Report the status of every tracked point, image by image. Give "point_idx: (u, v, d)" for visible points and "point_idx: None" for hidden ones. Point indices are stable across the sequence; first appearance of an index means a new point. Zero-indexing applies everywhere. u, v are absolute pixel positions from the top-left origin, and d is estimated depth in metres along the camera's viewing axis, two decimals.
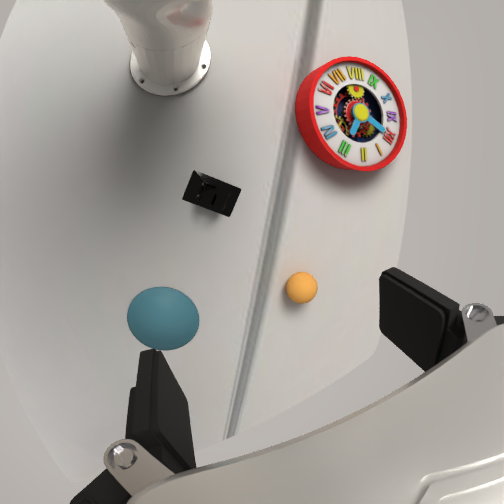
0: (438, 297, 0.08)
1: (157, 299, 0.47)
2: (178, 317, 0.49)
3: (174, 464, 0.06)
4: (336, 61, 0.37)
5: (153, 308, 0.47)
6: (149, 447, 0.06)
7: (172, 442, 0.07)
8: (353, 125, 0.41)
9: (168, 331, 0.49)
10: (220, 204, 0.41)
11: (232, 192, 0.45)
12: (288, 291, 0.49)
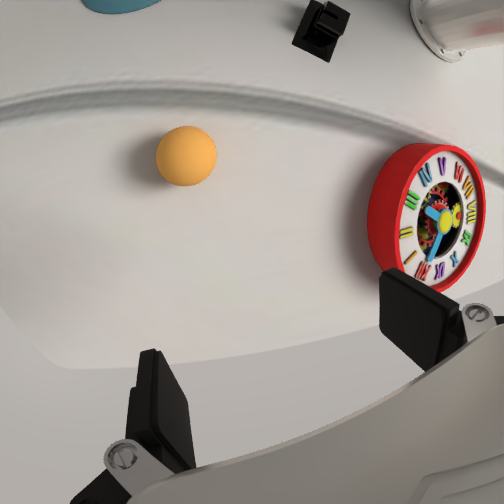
0: (438, 297, 0.08)
1: None
2: None
3: (174, 464, 0.06)
4: (481, 184, 0.30)
5: None
6: (149, 447, 0.06)
7: (172, 442, 0.07)
8: (434, 210, 0.30)
9: None
10: (327, 20, 0.21)
11: (324, 51, 0.26)
12: (181, 127, 0.23)
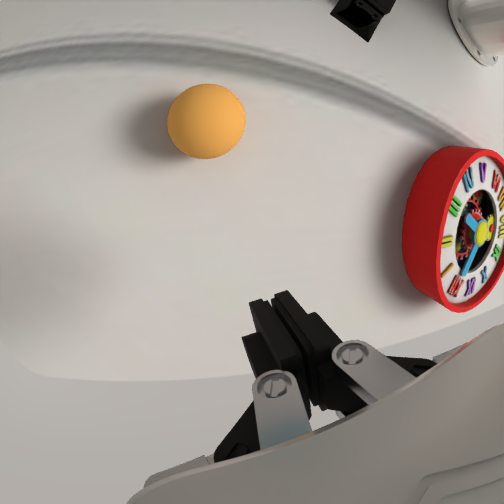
0: (310, 330, 0.09)
1: None
2: None
3: None
4: None
5: None
6: None
7: None
8: (473, 219, 0.25)
9: None
10: None
11: (365, 29, 0.21)
12: None
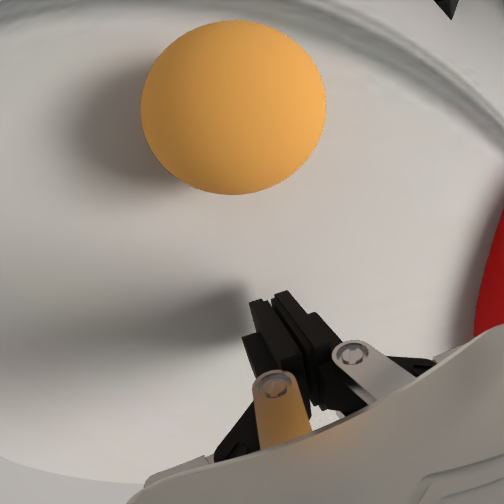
0: (310, 330, 0.09)
1: None
2: None
3: None
4: None
5: None
6: None
7: None
8: None
9: None
10: None
11: (446, 3, 0.10)
12: None
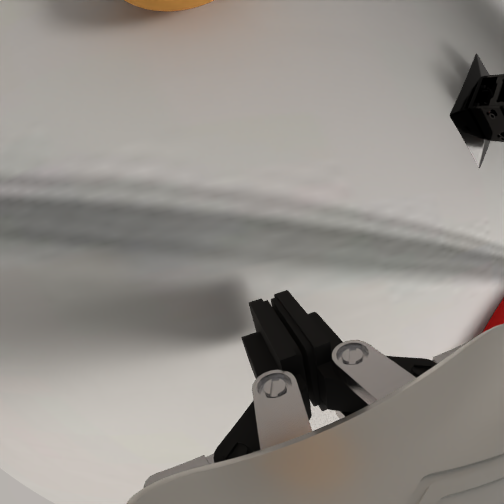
0: (310, 330, 0.09)
1: None
2: None
3: None
4: None
5: None
6: None
7: None
8: None
9: None
10: None
11: (480, 147, 0.14)
12: None
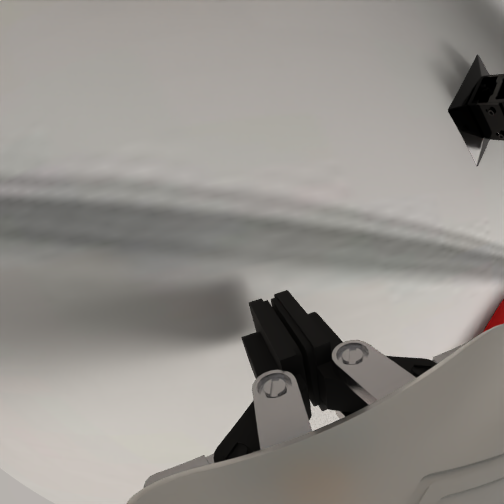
0: (310, 330, 0.09)
1: None
2: None
3: None
4: None
5: None
6: None
7: None
8: None
9: None
10: None
11: (478, 145, 0.14)
12: None
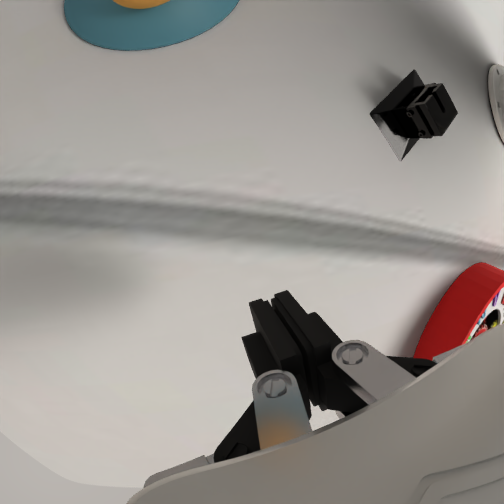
0: (310, 330, 0.09)
1: None
2: None
3: None
4: None
5: None
6: None
7: None
8: None
9: None
10: (432, 108, 0.16)
11: (402, 144, 0.20)
12: None
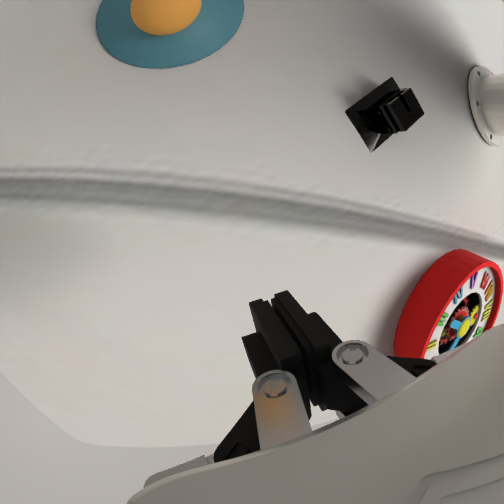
0: (310, 330, 0.09)
1: (218, 2, 0.18)
2: None
3: None
4: (501, 286, 0.31)
5: None
6: None
7: None
8: (457, 322, 0.30)
9: None
10: (397, 107, 0.20)
11: (374, 138, 0.25)
12: None
